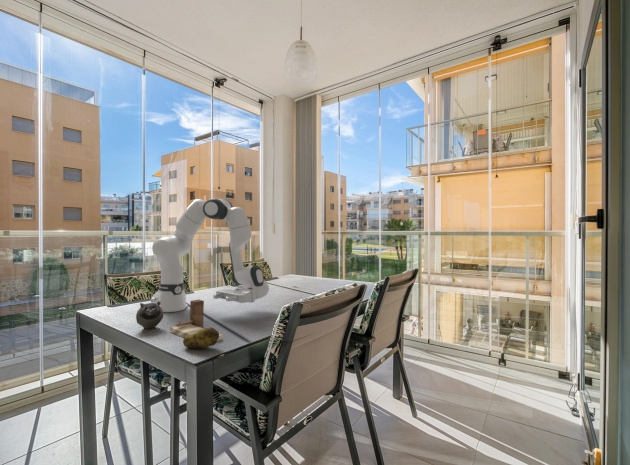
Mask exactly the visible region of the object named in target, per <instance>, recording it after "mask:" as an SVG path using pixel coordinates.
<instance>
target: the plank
mask: <svg viewBox="0 0 630 465" xmlns="http://www.w3.org/2000/svg"><path fill="white" fill-rule="evenodd" d="M202 329H204V327H203V328H201V327H197V326H194V325H191V324H189V325H185V326H181V327H177V325H174V326H170V328H169V330H170V333H172V334H174V335H176V336H179V337H182V338H183V339H184V338H185V337H186V336H188V335H191V334H195V333H197V332H198V331H200V330H202ZM222 340H223V334H222V333H219V338H218V340H217V342H219V341H222Z"/></svg>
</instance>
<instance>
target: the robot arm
mask: <svg viewBox="0 0 630 465" xmlns="http://www.w3.org/2000/svg"><path fill="white" fill-rule="evenodd" d="M206 219H211V220H220V221H221V220H223V221H225V223H226V224H227V227H228V231H229V244H228V249H229V257H230V263H231V278H232V279H231V280H232V282H233V283H234V284H235V285H236V288H235V289H231V288H230V289H229V288H224V289H218V290H216V291H215V294H213V296H212V298H213V299H215V300H217V299H221V300H225V301H226V302H238V303H240V304H244V303H255V301H256V300H259V299H262V298H265V297H266V296H267V295H268V293H269V291H270V288H269V284H268V283H267V282H266V280H265V278H264V272H263V271H264V270H263V269H262V267H261V266H259V265H257V264H254V265H249V266H244V263H243V257H242V250H243V248H244V246H245V245H246V244H248V242H250V240H251V238H252V228H251V225H250V222H249V219H248V216H247V214H246V212H245V209H244V208H242V207H241V206H233V204H232V203H231V202H230V201H229V200H227V199H225V198H222V197H221V198H220V197H218V198H216V197H215V198H214V197H213V198H209V199H207V200H204V199H201V198H198V199H194V200H193V201H192V202H191V203H190V204H189V205H188V206H187V207H186V209H184V212H183V213H182V215H181V216H180V217H179V219H178V220H177V222H176V223H175V231H174V234H173V235H171V236H163V237H161V238H158V239H156V240H155V241H154V242H153V244H152V247H151V248H152V249H151V251H152V253H153V254H154V255H155V256H156V258H157V259H158V263H159V267H160V283H159V284H158V290H157V292H155V293H154V294H153V295H152V296H151V298H150V303H156V304H157V302H159V301H160V302H161V303H160V305H159V306H160V307H161V308H162V310H163V313H172V312H173V313H175V312H180V311H183V310H185V309H186V308H187V307H188V306H189V305H188V304H187V297H186V291H185V290H184V289H185V282H184V267H183V266H182V265H181V263H180V257H183V256H185V255H187V254H189V253H190V252H191V250H192V242H193V240H194V237H195V236H196V234H197V233H198V231H199V229H200V228H201V227H202V225H203V224H204V222H206Z"/></svg>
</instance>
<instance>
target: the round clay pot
mask: <svg viewBox="0 0 630 465" xmlns="http://www.w3.org/2000/svg"><path fill="white" fill-rule="evenodd" d="M160 303H161V302H160V301H159V302H157V304H156V303H151V302H150V303H149V302H148V303H143V302H140V304H139V305H140V308H138V310H137V311H136V314H135V315H136V316H135V319H136V320H135V321H136V322H137V324H138V325H139V326H141V327H142V329H141V330H142V331H143V332H142V331H141V332H142V333H155V332H157V331H159V330H161V328H160V327H158V325H159V324H160V323H161V322H162V320H163V319H164V312H163V310H162V308H161V307H160V306H159V305H160Z"/></svg>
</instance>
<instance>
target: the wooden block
mask: <svg viewBox="0 0 630 465" xmlns="http://www.w3.org/2000/svg"><path fill="white" fill-rule="evenodd" d="M204 303H205V301H204V300H203V299H192V300H190V302H189V320H188V321H183V322H181V321H178V323H176V326H177V327H181V326H185V325H189V324H191V325H194V326H197V327H201V328H204V308H205V307H204V306H205V304H204Z"/></svg>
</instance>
